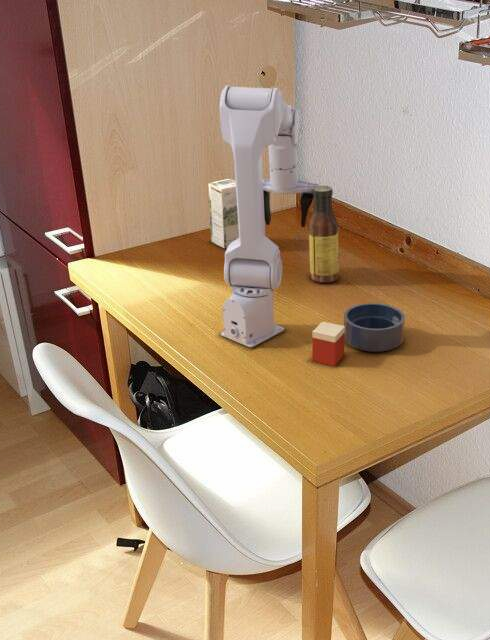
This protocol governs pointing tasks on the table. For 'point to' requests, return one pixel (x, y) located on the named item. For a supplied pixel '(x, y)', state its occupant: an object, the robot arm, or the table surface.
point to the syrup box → (223, 212)
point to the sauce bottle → (323, 237)
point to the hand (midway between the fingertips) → (286, 223)
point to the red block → (328, 343)
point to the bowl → (374, 327)
